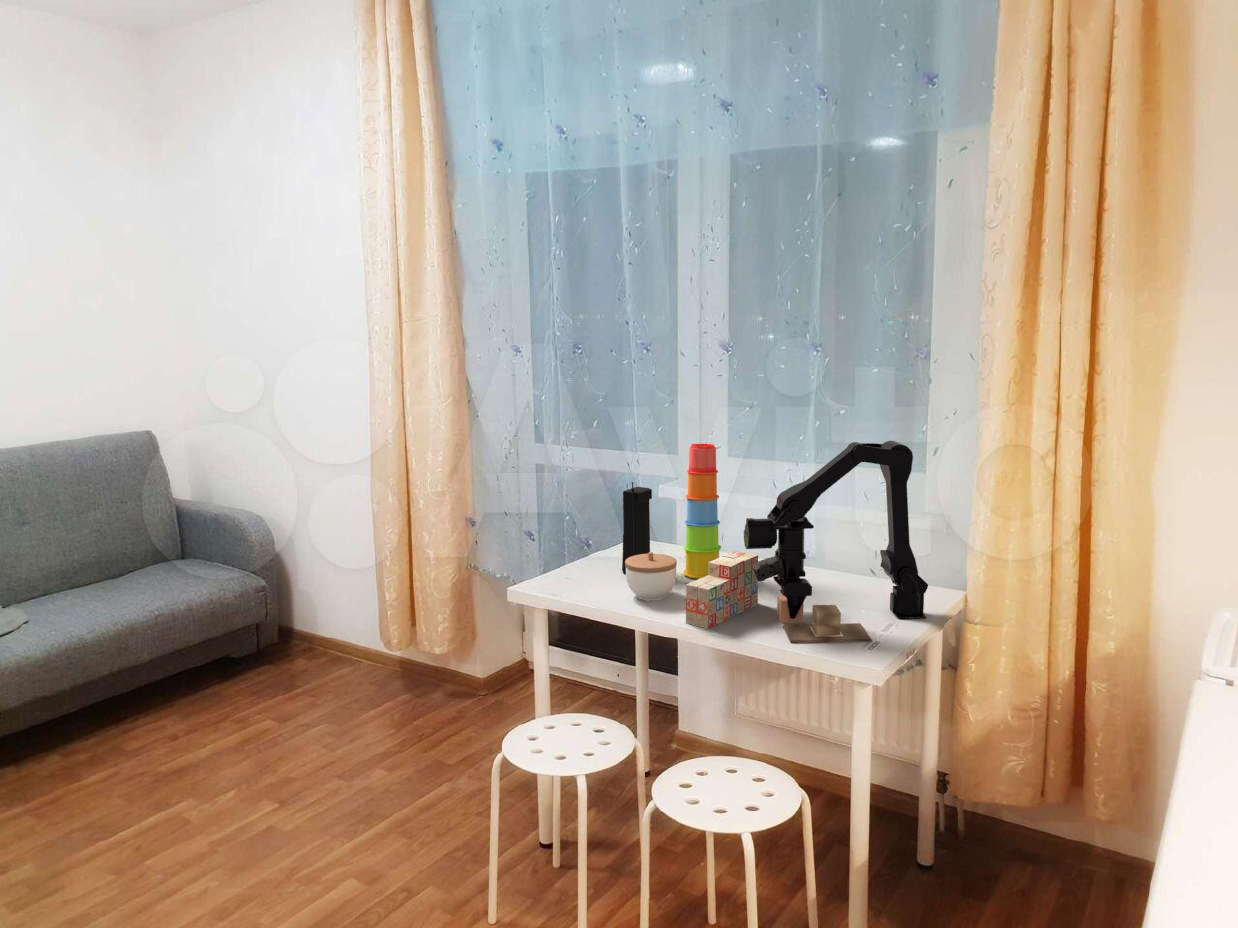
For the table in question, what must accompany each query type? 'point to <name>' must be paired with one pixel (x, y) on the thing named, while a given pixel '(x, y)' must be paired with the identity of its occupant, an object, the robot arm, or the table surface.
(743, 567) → the stack of blocks
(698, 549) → the stacking cups
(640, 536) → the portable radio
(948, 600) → the table surface
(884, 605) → the table surface
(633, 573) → the lidded bowl
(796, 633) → the brown flat panel
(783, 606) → the terracotta cube
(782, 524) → the robot arm
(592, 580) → the table surface
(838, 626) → the oak cube
